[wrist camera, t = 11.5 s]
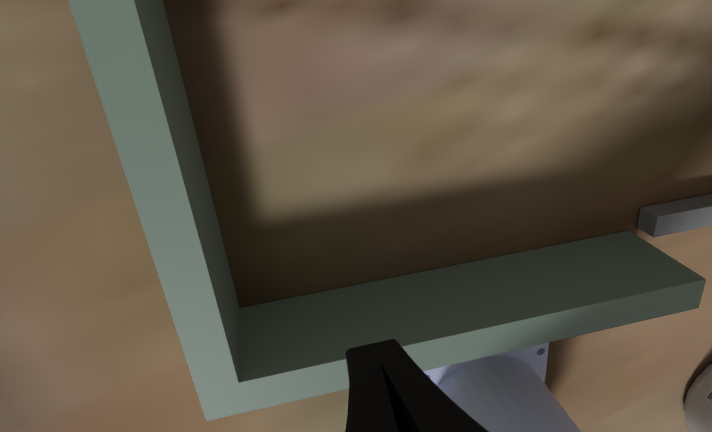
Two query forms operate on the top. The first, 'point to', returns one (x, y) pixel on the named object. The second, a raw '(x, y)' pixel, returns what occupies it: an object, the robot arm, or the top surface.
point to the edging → (676, 216)
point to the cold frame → (342, 305)
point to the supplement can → (700, 403)
